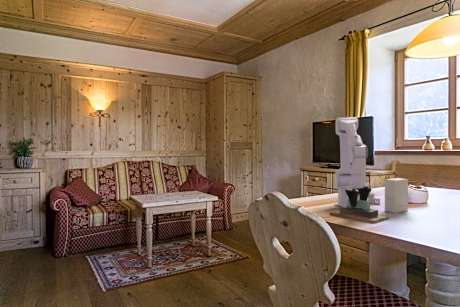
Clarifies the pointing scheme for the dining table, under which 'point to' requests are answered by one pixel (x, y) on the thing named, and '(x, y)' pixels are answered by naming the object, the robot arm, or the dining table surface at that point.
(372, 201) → the lattice window wall
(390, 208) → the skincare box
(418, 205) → the dining table surface
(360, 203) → the clip
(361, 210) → the rail stand
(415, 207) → the dining table surface
